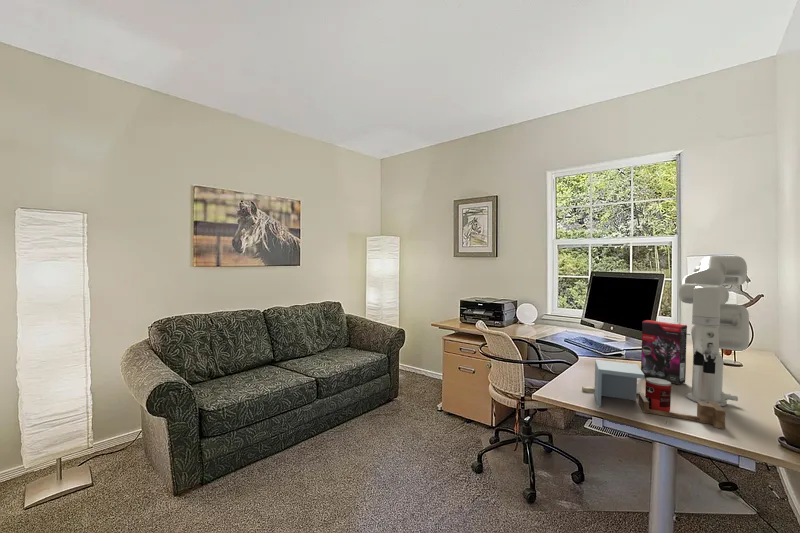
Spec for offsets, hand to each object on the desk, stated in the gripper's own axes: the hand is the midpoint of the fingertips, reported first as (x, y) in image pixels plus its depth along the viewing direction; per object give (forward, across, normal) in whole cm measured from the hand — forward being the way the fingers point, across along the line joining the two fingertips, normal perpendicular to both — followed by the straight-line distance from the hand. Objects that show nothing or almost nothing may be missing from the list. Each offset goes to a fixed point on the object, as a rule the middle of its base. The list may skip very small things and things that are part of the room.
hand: (703, 369), depth 132 cm
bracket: (+19, +23, +22) cm, 37 cm away
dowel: (+19, +16, +32) cm, 40 cm away
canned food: (+19, +5, +12) cm, 23 cm away
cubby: (+18, +5, +26) cm, 32 cm away
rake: (+18, +2, +7) cm, 19 cm away
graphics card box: (+19, +49, +1) cm, 53 cm away
